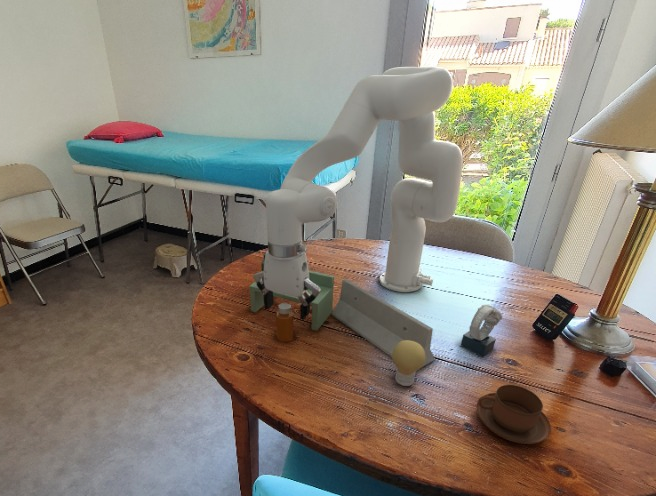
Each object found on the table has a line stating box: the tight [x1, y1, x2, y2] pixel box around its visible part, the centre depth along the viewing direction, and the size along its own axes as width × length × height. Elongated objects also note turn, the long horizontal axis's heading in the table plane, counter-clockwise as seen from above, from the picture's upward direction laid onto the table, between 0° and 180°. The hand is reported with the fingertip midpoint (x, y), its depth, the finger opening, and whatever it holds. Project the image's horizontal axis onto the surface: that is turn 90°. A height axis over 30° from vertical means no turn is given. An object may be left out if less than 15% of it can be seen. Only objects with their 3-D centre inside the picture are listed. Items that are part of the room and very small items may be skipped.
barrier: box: [331, 278, 435, 368], centre depth 98 cm, size 28×7×10 cm, turn 32°
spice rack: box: [249, 269, 335, 331], centre depth 108 cm, size 20×10×11 cm, turn 60°
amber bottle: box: [275, 302, 294, 343], centre depth 98 cm, size 4×4×9 cm
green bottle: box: [260, 251, 266, 281], centre depth 106 cm, size 4×4×9 cm
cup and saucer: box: [476, 384, 552, 445], centre depth 74 cm, size 12×12×6 cm
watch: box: [460, 304, 503, 358], centre depth 93 cm, size 6×8×11 cm
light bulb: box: [391, 340, 425, 387], centre depth 83 cm, size 6×6×10 cm
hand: (286, 311), depth 97 cm, fingers open, 9 cm apart
